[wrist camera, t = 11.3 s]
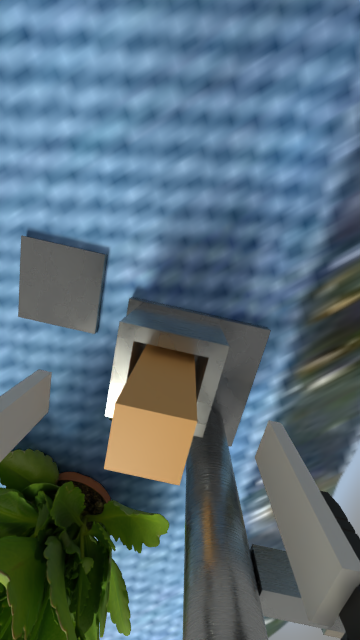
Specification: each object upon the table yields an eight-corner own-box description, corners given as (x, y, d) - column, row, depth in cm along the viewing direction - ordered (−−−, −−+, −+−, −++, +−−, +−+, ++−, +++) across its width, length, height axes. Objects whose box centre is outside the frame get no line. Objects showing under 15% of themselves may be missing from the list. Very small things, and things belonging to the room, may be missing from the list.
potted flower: (159, 416, 26) (100, 707, 9) (188, 560, 31) (186, 907, 15) (-38, 436, 28) (-391, 705, 11) (22, 568, 33) (-149, 882, 17)
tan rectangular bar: (154, 329, 22) (115, 403, 11) (193, 338, 22) (197, 421, 11) (147, 365, 23) (103, 469, 12) (184, 374, 23) (179, 485, 12)
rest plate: (25, 236, 22) (21, 235, 21) (107, 254, 22) (105, 254, 21) (22, 315, 24) (18, 316, 23) (97, 332, 24) (94, 333, 23)
